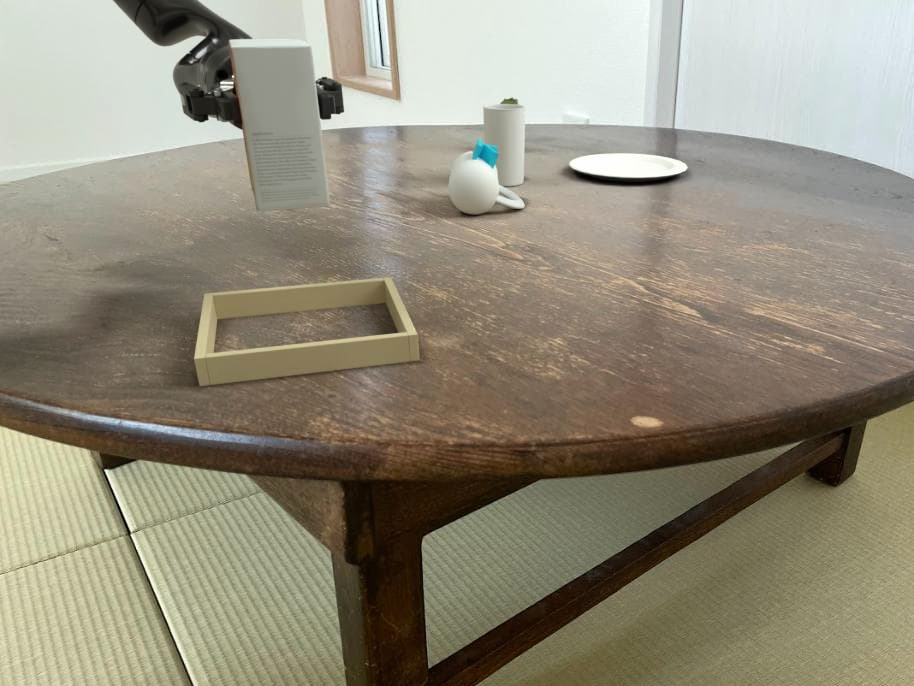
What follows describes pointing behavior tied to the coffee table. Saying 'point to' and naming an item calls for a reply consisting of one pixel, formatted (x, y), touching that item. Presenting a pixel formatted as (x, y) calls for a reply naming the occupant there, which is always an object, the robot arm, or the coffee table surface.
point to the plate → (628, 167)
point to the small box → (280, 122)
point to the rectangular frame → (302, 355)
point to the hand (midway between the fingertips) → (282, 109)
